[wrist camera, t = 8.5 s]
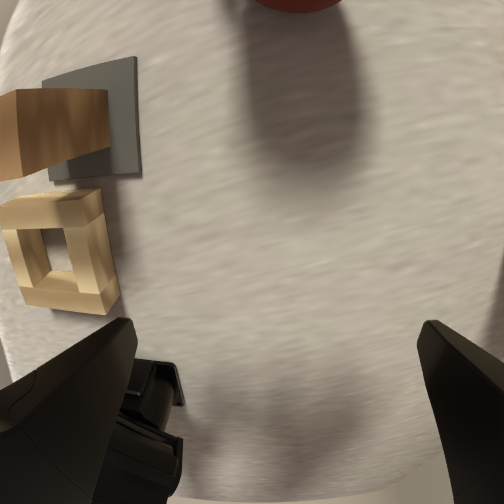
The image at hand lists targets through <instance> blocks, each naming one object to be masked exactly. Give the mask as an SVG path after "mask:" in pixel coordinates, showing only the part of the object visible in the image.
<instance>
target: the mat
mask: <svg viewBox="0 0 504 504" xmlns="http://www.w3.org/2000/svg"><path fill="white" fill-rule="evenodd" d="M42 88H80V89H104V90H108V114H109V131H110V145H111V147H107V148H104V149H101V150H97V151H94V152H91V153H88V154H85V155H82V156H79V157H76V158H73V159H70V160H67V161H64V162H62V163H59V164H56V165H53V166H51V167H48V174H49V181H57V180H65V179H73V178H82V177H92V176H102V175H113V174H125V173H138V172H141V171H142V168H141V156H140V142H139V125H138V101H137V57H135V56H133V57H128V58H123V59H118V60H113V61H109V62H105V63H101V64H97V65H93V66H89V67H85V68H82V69H78V70H75V71H71V72H68V73H65V74H62V75H59V76H56V77H53V78H50V79H47V80H44V81H42Z"/></svg>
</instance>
